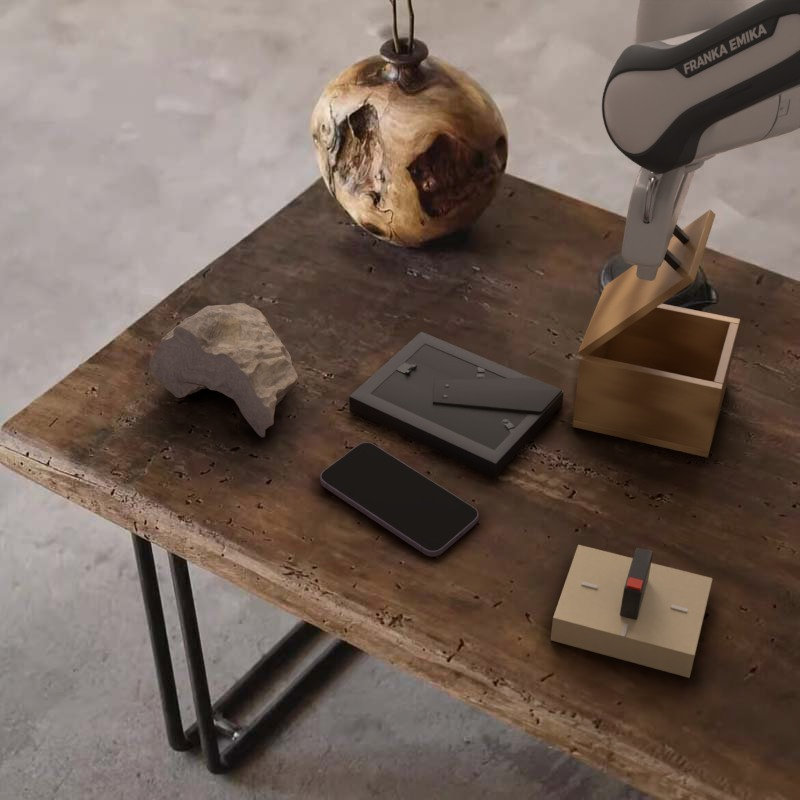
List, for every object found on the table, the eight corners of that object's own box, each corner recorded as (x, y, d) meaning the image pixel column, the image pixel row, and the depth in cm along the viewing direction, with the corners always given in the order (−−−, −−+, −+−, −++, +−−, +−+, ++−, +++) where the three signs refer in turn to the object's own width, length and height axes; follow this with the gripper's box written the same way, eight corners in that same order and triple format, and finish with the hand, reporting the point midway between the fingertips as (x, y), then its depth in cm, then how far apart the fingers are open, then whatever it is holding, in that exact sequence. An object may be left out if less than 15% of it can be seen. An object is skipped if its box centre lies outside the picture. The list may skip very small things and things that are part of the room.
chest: (726, 386, 139) (740, 319, 134) (707, 458, 131) (721, 389, 125) (598, 359, 143) (606, 292, 137) (572, 427, 134) (579, 359, 129)
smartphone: (433, 555, 120) (315, 476, 127) (433, 564, 121) (315, 484, 128) (483, 512, 124) (366, 438, 131) (482, 520, 125) (365, 446, 132)
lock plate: (707, 600, 117) (713, 576, 115) (689, 679, 110) (694, 655, 108) (575, 566, 120) (578, 542, 118) (549, 641, 113) (552, 617, 111)
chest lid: (715, 214, 127) (683, 182, 126) (694, 281, 119) (659, 246, 118) (609, 291, 137) (578, 261, 136) (583, 358, 128) (549, 326, 127)
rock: (149, 393, 139) (137, 314, 133) (234, 338, 148) (226, 261, 142) (260, 451, 131) (253, 369, 126) (343, 389, 140) (340, 310, 134)
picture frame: (562, 405, 137) (421, 345, 145) (564, 388, 136) (421, 328, 143) (495, 478, 129) (348, 410, 136) (496, 461, 127) (348, 393, 135)
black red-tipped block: (631, 574, 115) (636, 544, 113) (648, 578, 115) (653, 549, 112) (619, 616, 112) (624, 586, 109) (636, 620, 111) (642, 591, 109)
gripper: (689, 188, 108) (666, 322, 117) (728, 79, 123) (705, 206, 132) (613, 174, 110) (597, 308, 119) (660, 69, 124) (643, 195, 133)
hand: (654, 254), depth 125 cm, fingers open, 6 cm apart
